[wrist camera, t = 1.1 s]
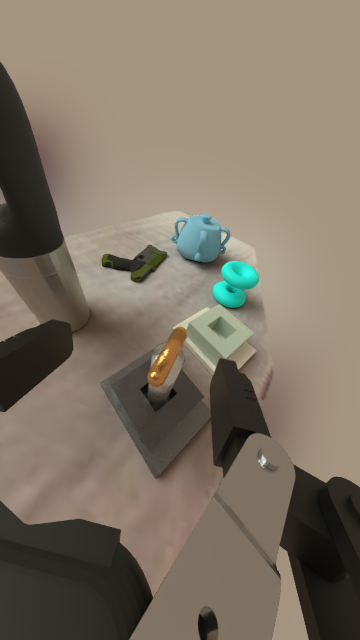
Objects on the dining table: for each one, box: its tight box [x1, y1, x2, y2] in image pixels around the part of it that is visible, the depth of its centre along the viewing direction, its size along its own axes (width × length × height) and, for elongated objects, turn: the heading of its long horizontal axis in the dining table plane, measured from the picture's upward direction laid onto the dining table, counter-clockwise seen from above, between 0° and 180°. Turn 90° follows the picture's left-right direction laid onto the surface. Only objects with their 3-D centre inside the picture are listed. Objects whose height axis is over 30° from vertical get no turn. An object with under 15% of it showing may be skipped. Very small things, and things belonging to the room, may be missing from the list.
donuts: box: [213, 261, 259, 308], centre depth 47 cm, size 10×10×10 cm
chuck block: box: [100, 349, 211, 479], centre depth 28 cm, size 16×12×6 cm
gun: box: [102, 245, 167, 282], centre depth 54 cm, size 2×19×15 cm
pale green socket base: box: [172, 304, 256, 375], centre depth 38 cm, size 16×12×6 cm
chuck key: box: [147, 327, 188, 409], centre depth 22 cm, size 7×3×18 cm, turn 156°
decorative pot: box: [171, 214, 230, 263], centre depth 59 cm, size 16×16×14 cm
